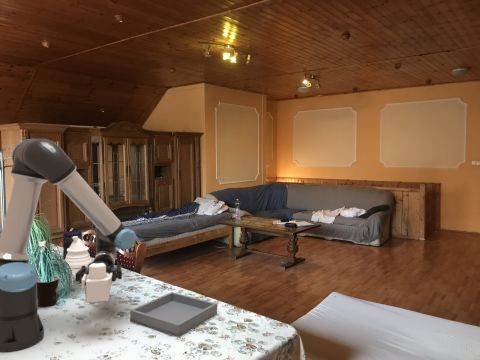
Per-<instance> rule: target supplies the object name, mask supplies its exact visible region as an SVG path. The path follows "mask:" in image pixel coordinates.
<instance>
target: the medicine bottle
mask: <svg viewBox="0 0 480 360" xmlns="http://www.w3.org/2000/svg"><path fill="white" fill-rule="evenodd" d="M109 275H110V274H109V273H108V264H107V263H106V262H104V261H95V262H93V261H92V263H90V264H89V265H88V275H87V278H86V285H85V303H87V304H88V303H89V304H90V303H101V302H108V301H110V291H111V290H110V288H111V287H108V279H109Z"/></svg>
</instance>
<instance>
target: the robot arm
mask: <svg viewBox="0 0 480 360" xmlns="http://www.w3.org/2000/svg"><path fill="white" fill-rule="evenodd" d="M11 160H12V167H11V171H10V175H11V176H12V178H13V180H14V181H13V184H12V185H13V186H12V189H11V192H10V197H9V201H8V204H7V208H6V212H5V217H4V221H3V225H2V228H1V233H0V352H2V353H4V352H14V351H20V350H25V349H27V348H29V347H33V346H34V345H36V344H38V343H39V342H41V341H42V340H43V339H44V337H45V327H44V325H43V322H42V320H41V318H40V316H39V313H38V300H37V278H39V276H38V274H37V267H35V266H34V265H33V264H31V263H29V260H30V257H29V256H28V254H27V250H28V245H29V242H30V241H29V240H30V236H31V232H32V229H33V224H34V220H35V215H36V212H37V207H38V203H39V199H40V194H41V192H42V191H41V190H42V188H43V187H42V186H43V185H44V184H45V183H47V182H49V183H50V184H51V185H53V186H57V187H58V188H59V189H60V190H61V191H62V192H63V193H64V195H66V196H67V197H68V198H69V200H70V201H71V202H72V203H74V205H75V206H76V207H77V208H78V209H79V210H80V211H81V212H82V213H83V214H84V215H85V216H86V218H88V219H89V221H90V222H91V223H92V224H93V225H94V226H95V227H94V228H95V258H94V259H93V260H92V262H95V261H104V262H106V263H107V264H108V273H109V274H110V275H109V279H108V287H110V288H111V287H112V284H113V282H115V283H116V280H117V279H118V280H122V279H123V271H122V264H121V263H120V264H117V265H115V262H116V259H117V249H119V250H129V249H131V248H132V247H134V245H135V243H136V241H137V240H136V239H137V237H136V236H137V235H136V234H135V232H134V231H133V230H131V229H130V228H127V227H126V226H125V225H124V223H122V221H121V220H120V219H119V218H118V217H117V216H116V214H114V212H113V211H112V210H111V208H109V207H108V205H106V204H105V202H104V201H103V199H102V198H100V196H99V195H98V194H97V193H96V191H95V190H94V189H93V188H92V187H91V186H90V185H89V184H88V182H87V181H86V180H85V179H84V178H83V177H82V176H81V175H80V173H79V172H78V171H77V165H76V164H75V162H74V161H73V160H72V159H71V158H70V157H69V156H68V155H67V153H66V152H65V151H64V150H63V148H61V146H60V145H59V144H57V143H56V142H54V141H53V140H50V139H47V138H27V139H24V140H22V141H21V142H19V143H18V144H16V145H15V147H14V148H13V150H12V153H11ZM87 275H88V268H87V267H85V266H82V268H81V269H80V270H79V271H78V272H77V273H76V276H75V282H78V283H79V284H81V285H80V286H81V288H80V289H82V290H83V289H85V288H86V278H87Z"/></svg>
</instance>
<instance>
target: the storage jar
mask: <svg viewBox="0 0 480 360" xmlns="http://www.w3.org/2000/svg"><path fill="white" fill-rule="evenodd" d="M62 235H63V236H62V244H63V252H62V256H63V259H65V258H66V255H67V253H68V251H67V249H68V248H70V246H71V244H72V242H73V241H74V240H73V238H72V237H73V236H78V239H81V240H82V241H83V231H82V230H67V231H66V230H65V231H63V232H62Z"/></svg>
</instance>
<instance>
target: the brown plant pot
mask: <svg viewBox="0 0 480 360" xmlns="http://www.w3.org/2000/svg"><path fill="white" fill-rule="evenodd" d="M54 276H55V280H54V281H50V282H40V277H41V276H38V278H37V307H40V308H49V307H53V306H56V304H57V301H58V291H59V283H60V276H58V275H54Z"/></svg>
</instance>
